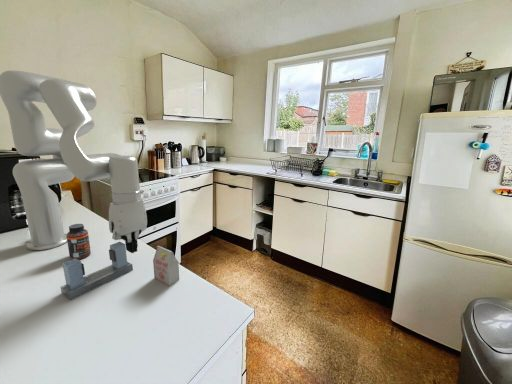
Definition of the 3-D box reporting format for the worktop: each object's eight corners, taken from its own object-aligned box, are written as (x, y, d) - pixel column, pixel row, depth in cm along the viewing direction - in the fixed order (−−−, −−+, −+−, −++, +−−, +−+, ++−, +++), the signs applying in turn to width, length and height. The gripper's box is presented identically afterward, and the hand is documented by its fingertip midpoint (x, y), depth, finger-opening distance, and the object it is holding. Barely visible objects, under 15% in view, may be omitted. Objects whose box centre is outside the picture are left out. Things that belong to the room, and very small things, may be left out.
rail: (61, 293, 64) (56, 263, 62) (123, 265, 78) (121, 239, 76) (70, 300, 61) (64, 269, 59) (132, 270, 76) (130, 244, 73)
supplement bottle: (80, 261, 79) (75, 230, 76) (65, 259, 80) (59, 227, 78) (95, 253, 85) (91, 223, 82) (81, 250, 86) (76, 221, 83)
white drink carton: (164, 272, 75) (162, 243, 73) (179, 279, 72) (177, 249, 69) (154, 278, 72) (152, 247, 70) (169, 286, 69) (167, 254, 66)
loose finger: (110, 266, 73) (107, 246, 72) (121, 261, 76) (119, 241, 74) (115, 269, 72) (113, 248, 70) (127, 264, 75) (125, 244, 73)
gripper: (141, 190, 81) (145, 239, 85) (93, 199, 68) (101, 257, 73) (155, 193, 77) (159, 245, 82) (108, 204, 65) (115, 265, 69)
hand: (132, 251), depth 77 cm, fingers closed
